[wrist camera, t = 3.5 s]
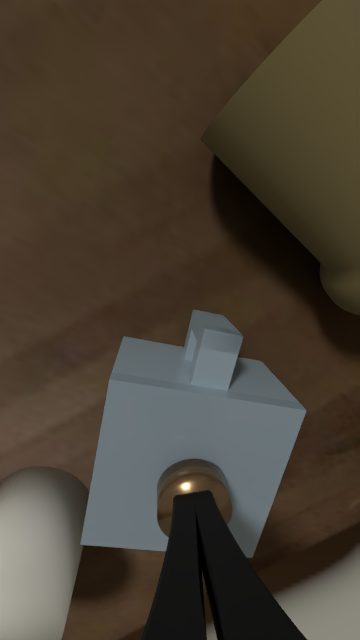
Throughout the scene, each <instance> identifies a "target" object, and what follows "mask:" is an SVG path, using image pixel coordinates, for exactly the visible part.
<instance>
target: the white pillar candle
mask: <svg viewBox="0 0 360 640" xmlns="http://www.w3.org/2000/svg"><path fill="white" fill-rule="evenodd" d="M88 498H89V491H88V490H87V488H86V486H85V485H84V484H83V483H82V482H81V481H80V480H79V479H78V478H76V477H75V476H74V475H72V474H70V473H68V472H66V471H64V470H61V469H57V468H53V467H44V466H38V467H29V468H25V469H21V470H19V471H16V472H14V473H12V474H11V475H9V476H8V477H6V478H5V479H4V480H3V481H2V482H1V483H0V640H61V639H62V636H63V632H64V628H65V623H66V619H67V615H68V610H69V606H70V602H71V598H72V593H73V589H74V585H75V580H76V576H77V572H78V567H79V563H80V559H81V555H82V550H83V546H84V545H80V543H81V538H82V532H83V526H84V521H85V515H86V509H87V504H88Z"/></svg>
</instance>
